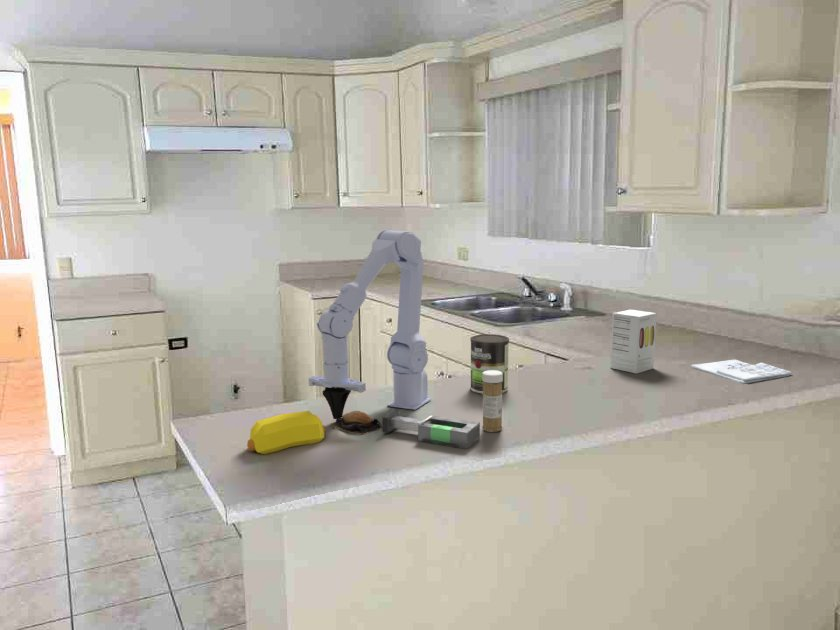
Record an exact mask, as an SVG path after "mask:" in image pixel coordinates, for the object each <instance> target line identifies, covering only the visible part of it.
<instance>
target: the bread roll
mask: <svg viewBox="0 0 840 630" xmlns="http://www.w3.org/2000/svg"><path fill="white" fill-rule="evenodd" d="M330 427H333V428H336V429H338V430H341V431H344V432H347V433H351V434H354V435H359V436H362V435H365V434H369V433H371V432H374V431H376V430H379V429H383V427H382V425H381V422H380V421H379V420H378V419H377V418H372V417H371V416H370V415H368V414H367V413H365V412H363V411H360V410H352V411H350V412H348V413H343V415H342V418H338V419H335V421H334V422H332V423H330Z"/></svg>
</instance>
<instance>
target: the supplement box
mask: <svg viewBox="0 0 840 630" xmlns="http://www.w3.org/2000/svg"><path fill="white" fill-rule="evenodd" d="M611 317H612V318H611V341H610V344H611V347H610V368H609V369H614V370H618V371H622V372H628V373H632V374H635V375H636V374H640V373H644V372H646V371H649V370H652V369H654V363H655V346H656V345H655V344H656V343H655V341H656V328H657V325H656V323H657V313H656V312H653V311H652V312H651V311H643V310H639V309H638V310H636V309H627V310H621V311H617V312H613V313H612V316H611Z"/></svg>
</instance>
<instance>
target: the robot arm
mask: <svg viewBox="0 0 840 630" xmlns="http://www.w3.org/2000/svg"><path fill="white" fill-rule="evenodd" d="M421 245H422V240H421V239H420V238H419V237H418V236H417V235H416V234H415V233H414V232H413V231H411V230H406V231H404V230H403V231H402V230H391V229H383V230H381V231H380V232H379V233H378V235H377V236H376V238H375V239H374V240H373V241H372V245H371V249H370V250H371V251H370V253H369V254H368V255H367V257H366V259H365V261H364V262H363V265H362V266H361V268H360V269H359V271H358V273H357V275H356V276H355V278H354V279H353V281H352V282H349V283H345V285H344V286H341V288H340V289H339V291H340V292H339V294H338V295H337V296H336V299H334V302H333V303H332V304H330V306H329V307H328V308H329V309H327V310H326V311H324V312H322V314H320V316H319V318H318V321H317V322H316V327H317V330H318V331H319V332H320V333H321V340H322V356H323V358H322V359H323V360H322V361H323V376H318V375H317V376H316V375H313V376H310V377H308V386H309V387H314V386H316V387H323V388H324V390H322V395H323V397H324V399H325V400H326V402H327V404H328V406H329V409H330V412H331V415H332V419H333V420H337V419H338V418H342V416H343V415H344V409H345V407H346V403H347V401H348V397H349V396H350V393H351V392H352V391H353V392H357V393H360V394H361V393H364V392H366V382H363V381H358V380H355V379H352V378H350V376H349V375H350V374H349V348H348V343H349V341H348V336H349V334H350V332H352V329H353V324H354V319H355V317H356V314H357V313H358V312H359V310H360V308H361V307H362V305H363V303H364V302H365V300H366V299H367V292H366V291H367V289H368V287H369V286H370V285H371V284H372V282H373V281H374V279H375V278H376V277H377V276H378V275H379V273H380V271H381V270H382V269H383V267H384V266H385V265H388V264H390V263H391V264H392V263H395V264H396V266H398V267H399V269H400V275H399V276H400V277H399V279H400V280H399V296H398V297H399V298H398V313H397V327H396V328H397V329H396V332H395V333H394V334H393V335H392V336H391V337H390V344H389V346H388V348H387V352H386V358H387V360H388V363H389V364H391V369H392V371H393V372H392V375H393V377H392V378H393V379H392V381H393V400H392V401H390V402H389V403H387V404H386V405H387V407H392V408H400V409H406V410H414V411H416V410H417V409H419V408H420V407H422V406H423V405H425V404H427V403H428V402H429V401H431V400H432V398H431V397H428V394H429V393H428V391H429V388H428V385H429V384H428V381H429V380H428V374H427V372H426V370H425V368H426V367H427V364H428V362H429V361H428V360H429V355H428V351H427V341H426V340H425V339H424V337H423V336H422V334H421V333H420V325H421V311H422V296H423V295H422V293H423V292H422V291H423V279H424V278H423V276H424V259H423V256H422V252H421V247H422V246H421Z"/></svg>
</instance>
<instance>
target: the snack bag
mask: <svg viewBox="0 0 840 630" xmlns="http://www.w3.org/2000/svg"><path fill="white" fill-rule="evenodd" d="M690 368H691V369H693V370H698V371H700V372H701V371H702V372H705V373H708V374H711V375H714V376H716V377H717V376H718V377H721V378H724V379H726V380H730V381H734V382H736V383H739V384H748V383H755V382H760V381H766V380H772V379H777V378H783V377H788V376H789V377H790V376H791V374H793V373H792V372H791V370H787V369H783V368H780V367H777V366H773V365H770V364H767V363H764V362H759V363H756V364H752V363H747V362H744V361H741V360H738V359H728V360H722V361H721V360H720V361H713V362H708V363H707V362H706V363H698V364H697V363H696V364H691V365H690Z"/></svg>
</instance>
